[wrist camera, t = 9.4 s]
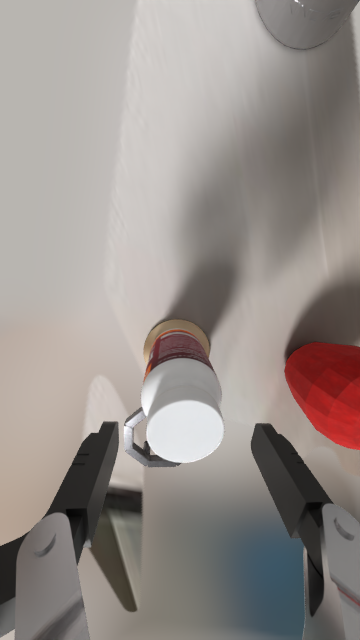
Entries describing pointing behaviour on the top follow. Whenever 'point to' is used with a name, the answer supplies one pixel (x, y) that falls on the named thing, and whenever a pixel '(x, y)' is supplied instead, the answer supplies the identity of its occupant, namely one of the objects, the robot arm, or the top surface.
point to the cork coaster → (172, 325)
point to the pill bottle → (181, 398)
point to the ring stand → (144, 453)
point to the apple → (328, 389)
